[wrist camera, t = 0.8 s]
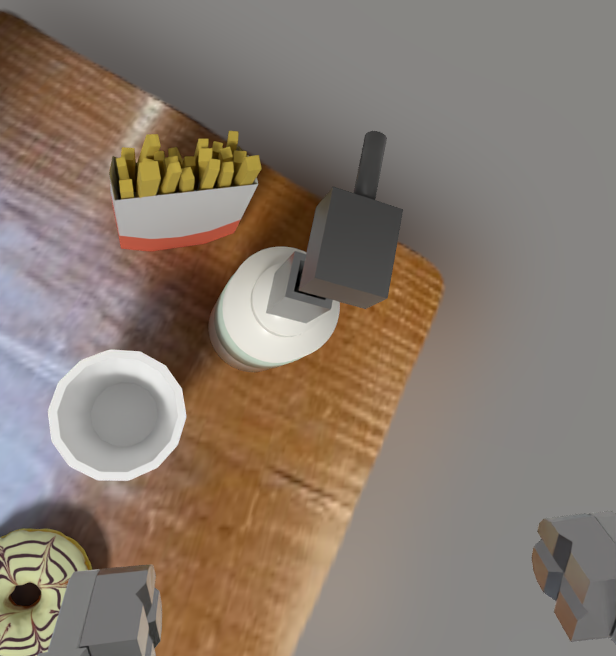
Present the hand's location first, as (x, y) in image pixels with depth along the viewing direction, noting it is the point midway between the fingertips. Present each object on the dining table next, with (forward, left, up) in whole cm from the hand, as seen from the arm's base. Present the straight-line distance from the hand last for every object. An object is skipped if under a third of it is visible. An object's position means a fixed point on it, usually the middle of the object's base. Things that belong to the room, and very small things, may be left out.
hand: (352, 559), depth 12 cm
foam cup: (-6, +2, -45) cm, 45 cm away
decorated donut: (-10, -14, -45) cm, 48 cm away
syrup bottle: (+4, +13, -44) cm, 46 cm away
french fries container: (-7, +21, -45) cm, 50 cm away
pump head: (+4, +15, -24) cm, 28 cm away
